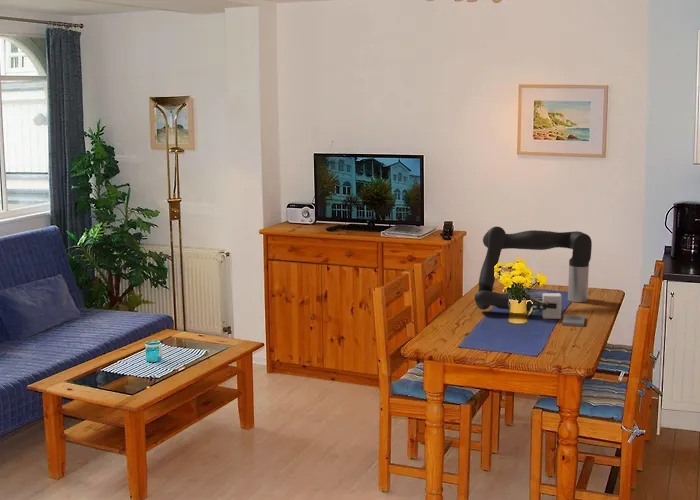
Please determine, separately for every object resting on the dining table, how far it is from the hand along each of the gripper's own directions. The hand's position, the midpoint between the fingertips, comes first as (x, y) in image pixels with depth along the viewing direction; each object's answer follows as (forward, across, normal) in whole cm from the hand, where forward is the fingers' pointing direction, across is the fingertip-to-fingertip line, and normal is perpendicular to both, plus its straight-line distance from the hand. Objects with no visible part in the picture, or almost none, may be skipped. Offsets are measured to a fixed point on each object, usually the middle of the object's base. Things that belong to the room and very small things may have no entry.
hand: (557, 304), depth 385 cm
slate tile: (+8, -5, +6) cm, 11 cm away
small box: (-2, 0, +6) cm, 7 cm away
